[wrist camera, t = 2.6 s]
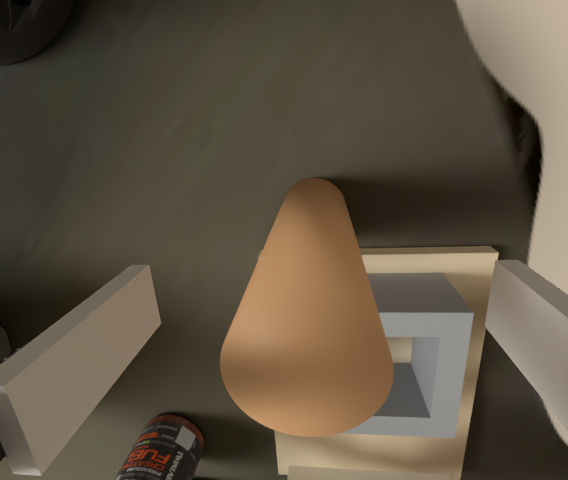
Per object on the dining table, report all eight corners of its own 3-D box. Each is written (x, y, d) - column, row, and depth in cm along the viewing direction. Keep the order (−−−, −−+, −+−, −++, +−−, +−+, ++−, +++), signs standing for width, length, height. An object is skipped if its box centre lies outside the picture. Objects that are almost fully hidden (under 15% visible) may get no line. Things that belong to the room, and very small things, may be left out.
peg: (280, 179, 23) (208, 297, 8) (345, 176, 22) (398, 296, 8) (284, 239, 24) (230, 433, 10) (345, 238, 24) (389, 440, 9)
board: (260, 250, 25) (258, 256, 24) (490, 245, 23) (498, 252, 22) (279, 461, 32) (278, 474, 31) (454, 471, 31) (459, 484, 30)
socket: (307, 274, 24) (304, 312, 19) (442, 272, 23) (473, 312, 18) (311, 377, 27) (309, 431, 22) (430, 380, 26) (454, 437, 21)
